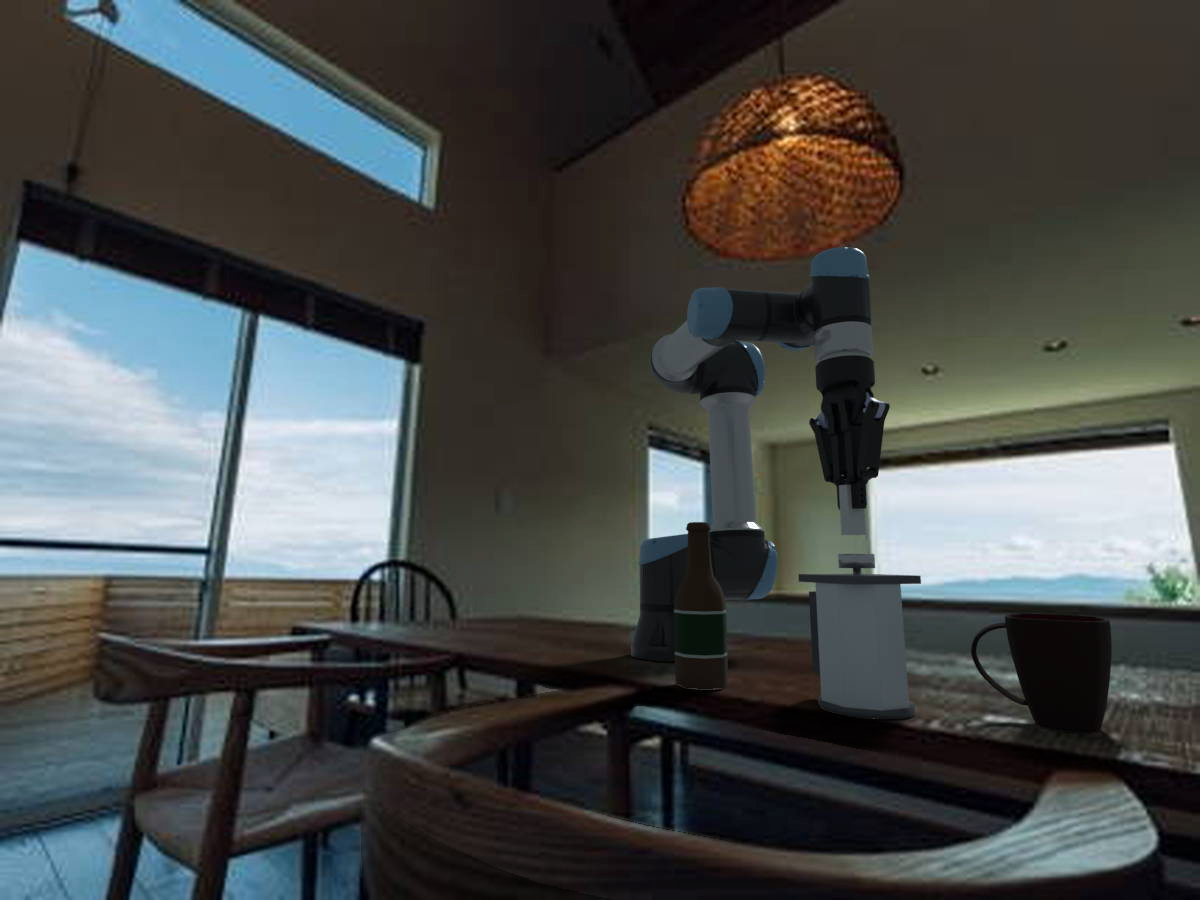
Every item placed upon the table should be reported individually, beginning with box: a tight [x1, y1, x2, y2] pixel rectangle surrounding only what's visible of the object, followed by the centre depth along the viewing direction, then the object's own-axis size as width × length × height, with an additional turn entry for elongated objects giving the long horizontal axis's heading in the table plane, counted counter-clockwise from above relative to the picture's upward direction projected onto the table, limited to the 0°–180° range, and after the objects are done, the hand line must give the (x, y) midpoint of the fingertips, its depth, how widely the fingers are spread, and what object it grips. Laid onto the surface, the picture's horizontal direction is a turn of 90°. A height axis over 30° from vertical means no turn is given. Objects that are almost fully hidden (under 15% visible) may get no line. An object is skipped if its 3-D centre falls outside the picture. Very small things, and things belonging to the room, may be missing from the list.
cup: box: [970, 612, 1113, 735], centre depth 75 cm, size 10×14×12 cm
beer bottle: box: [674, 521, 729, 689], centre depth 97 cm, size 8×8×24 cm
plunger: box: [837, 553, 876, 575], centre depth 84 cm, size 4×4×9 cm
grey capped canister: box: [798, 573, 922, 720], centre depth 84 cm, size 14×11×16 cm
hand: (853, 534), depth 85 cm, fingers closed
